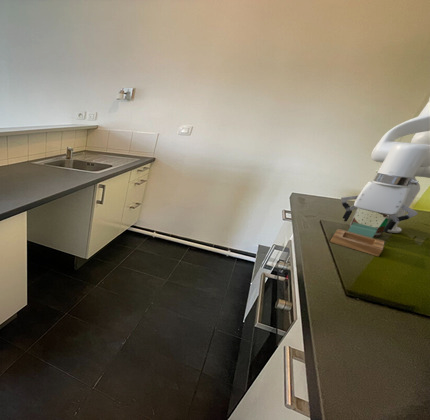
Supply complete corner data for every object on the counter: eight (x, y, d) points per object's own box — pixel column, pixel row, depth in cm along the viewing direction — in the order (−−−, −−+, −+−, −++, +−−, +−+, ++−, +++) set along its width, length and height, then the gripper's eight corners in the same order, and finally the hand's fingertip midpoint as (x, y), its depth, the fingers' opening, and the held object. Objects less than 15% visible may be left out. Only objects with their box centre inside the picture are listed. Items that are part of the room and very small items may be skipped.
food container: (395, 240, 90) (411, 215, 86) (375, 238, 91) (390, 213, 87) (363, 226, 101) (376, 204, 97) (346, 224, 102) (358, 202, 98)
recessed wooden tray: (334, 234, 92) (338, 228, 91) (380, 247, 84) (384, 241, 83) (329, 241, 86) (333, 235, 85) (378, 256, 78) (382, 249, 77)
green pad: (348, 231, 96) (353, 222, 94) (371, 237, 91) (377, 228, 90) (345, 234, 92) (351, 225, 91) (370, 241, 88) (376, 231, 86)
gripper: (434, 186, 79) (402, 233, 85) (354, 174, 92) (332, 215, 98) (436, 188, 75) (403, 237, 81) (352, 175, 88) (329, 218, 94)
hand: (364, 225), depth 90 cm, fingers open, 9 cm apart
